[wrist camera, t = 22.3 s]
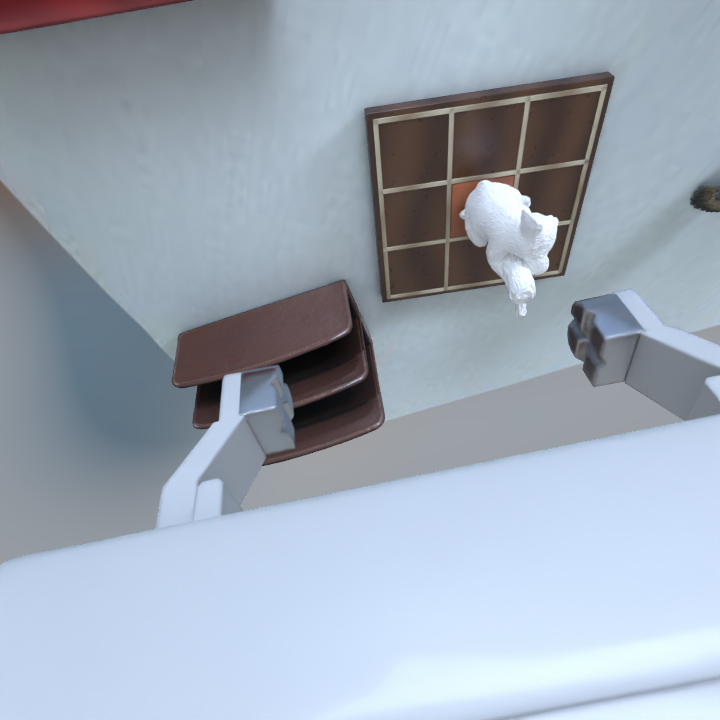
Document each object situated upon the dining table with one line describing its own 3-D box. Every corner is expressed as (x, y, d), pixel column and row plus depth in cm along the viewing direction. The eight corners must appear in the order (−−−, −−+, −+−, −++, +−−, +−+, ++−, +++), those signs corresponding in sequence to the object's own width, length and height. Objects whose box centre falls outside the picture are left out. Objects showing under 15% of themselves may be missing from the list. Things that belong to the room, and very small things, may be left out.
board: (608, 71, 41) (615, 76, 40) (560, 268, 55) (564, 276, 54) (364, 107, 41) (366, 114, 40) (381, 295, 55) (382, 303, 54)
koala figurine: (509, 240, 50) (553, 321, 42) (444, 240, 49) (476, 323, 41) (536, 158, 44) (594, 234, 36) (462, 156, 43) (504, 235, 35)
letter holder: (372, 338, 60) (389, 436, 51) (222, 384, 63) (212, 484, 54) (345, 276, 53) (359, 377, 43) (178, 331, 56) (157, 437, 46)
